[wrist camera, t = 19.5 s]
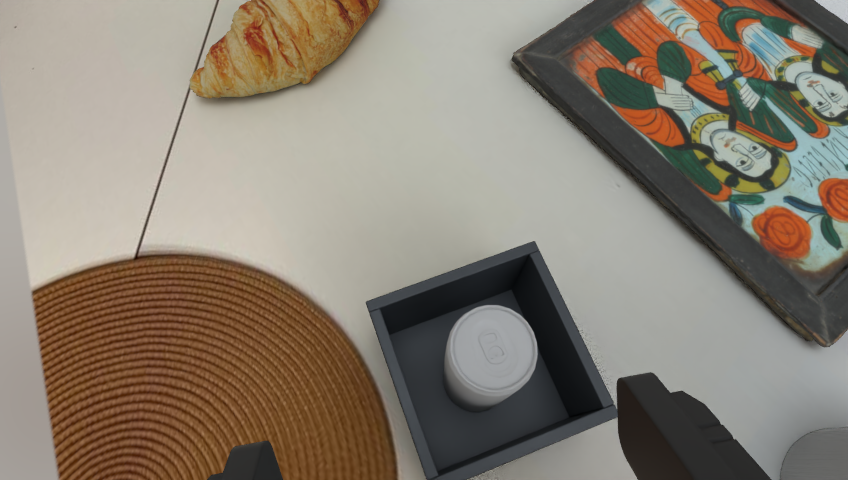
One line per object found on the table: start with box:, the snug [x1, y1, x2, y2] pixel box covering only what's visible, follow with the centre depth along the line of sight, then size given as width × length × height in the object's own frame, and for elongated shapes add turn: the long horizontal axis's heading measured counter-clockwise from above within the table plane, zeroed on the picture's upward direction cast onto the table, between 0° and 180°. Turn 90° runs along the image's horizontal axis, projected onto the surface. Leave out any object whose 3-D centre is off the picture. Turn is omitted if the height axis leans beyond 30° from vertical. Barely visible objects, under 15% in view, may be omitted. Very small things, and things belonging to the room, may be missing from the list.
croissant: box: [190, 0, 379, 98], centre depth 48 cm, size 21×10×8 cm, turn 130°
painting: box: [512, 0, 848, 347], centre depth 47 cm, size 28×35×2 cm
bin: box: [366, 241, 618, 480], centre depth 35 cm, size 11×11×9 cm
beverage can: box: [443, 305, 538, 412], centre depth 33 cm, size 5×5×12 cm
